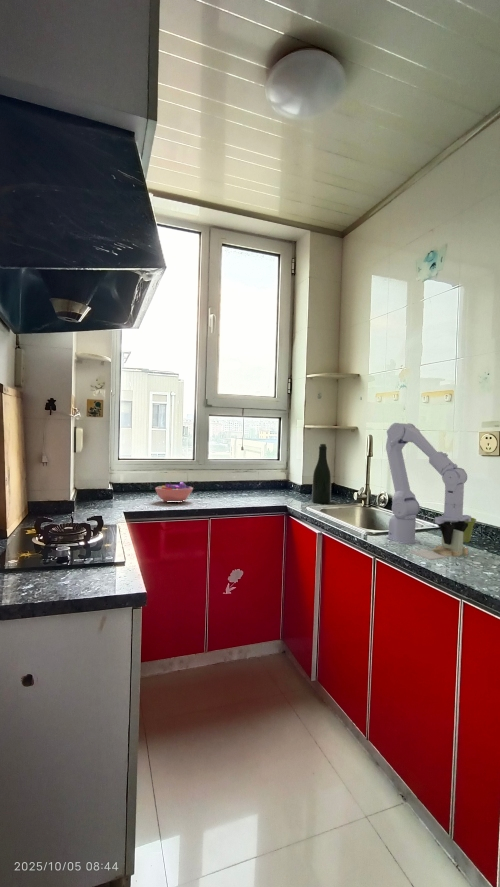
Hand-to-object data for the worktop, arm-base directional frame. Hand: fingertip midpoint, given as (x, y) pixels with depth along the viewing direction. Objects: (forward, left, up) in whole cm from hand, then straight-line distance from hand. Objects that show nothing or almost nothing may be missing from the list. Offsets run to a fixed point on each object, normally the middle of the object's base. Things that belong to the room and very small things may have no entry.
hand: (452, 543), depth 145 cm
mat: (0, -11, -3) cm, 11 cm away
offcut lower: (0, -4, -4) cm, 6 cm away
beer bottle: (-98, +9, -3) cm, 98 cm away
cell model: (-118, -70, -3) cm, 137 cm away
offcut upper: (0, -4, -3) cm, 5 cm away
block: (0, 0, -3) cm, 3 cm away
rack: (0, 0, -3) cm, 3 cm away
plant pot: (-11, +17, -3) cm, 21 cm away
